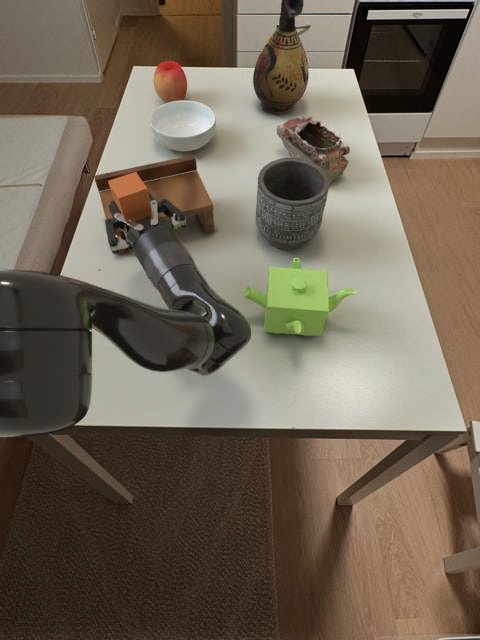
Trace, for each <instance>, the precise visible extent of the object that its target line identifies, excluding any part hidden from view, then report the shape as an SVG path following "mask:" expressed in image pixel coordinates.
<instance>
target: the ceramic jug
mask: <svg viewBox="0 0 480 640" xmlns="http://www.w3.org/2000/svg"><path fill="white" fill-rule="evenodd" d="M304 4H305V3H304V0H281V4H280V6H281V7H280V13H279V19H278V27H277V29H276V30H274V32H273V33H272V36H270V37H269V39H268V40H267V42H266V43H265V45H264V46H263V48H262V49H261V51H260V53H259V55H258V56H257V60H256V63H255V66H254V70H253V76H252V84H253V85H252V86H253V89H254V90H253V91H254V93H255V95H256V97H257V99H258V100H259V102H260V106H261V110H262V111H263V112H264V113H268V114H269V115H272V116H280V115H286V114H288V113H290V112H291V110H292V108H293V107H294V106H295V105H296V104H297V103H298V102H299V101H300V100H301V99H302V98H303V96H304V95H305V92H306V91H307V87H308V83H309V76H310V75H309V63H308V57H307V52H306V50H305V47H304V45H303V42H302V39H301V37H300V36H299V33H298V31H297V27H296V17H299V16H300V15H301V14H302V13H303V8H304Z"/></svg>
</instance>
